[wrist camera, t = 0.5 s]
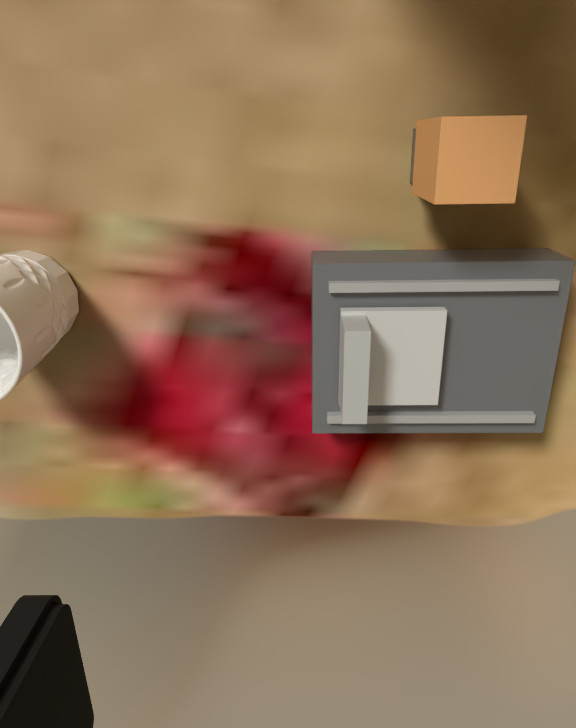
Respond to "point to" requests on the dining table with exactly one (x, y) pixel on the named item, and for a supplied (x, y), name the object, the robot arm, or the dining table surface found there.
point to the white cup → (31, 312)
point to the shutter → (389, 358)
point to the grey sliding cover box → (450, 333)
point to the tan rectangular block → (467, 159)
